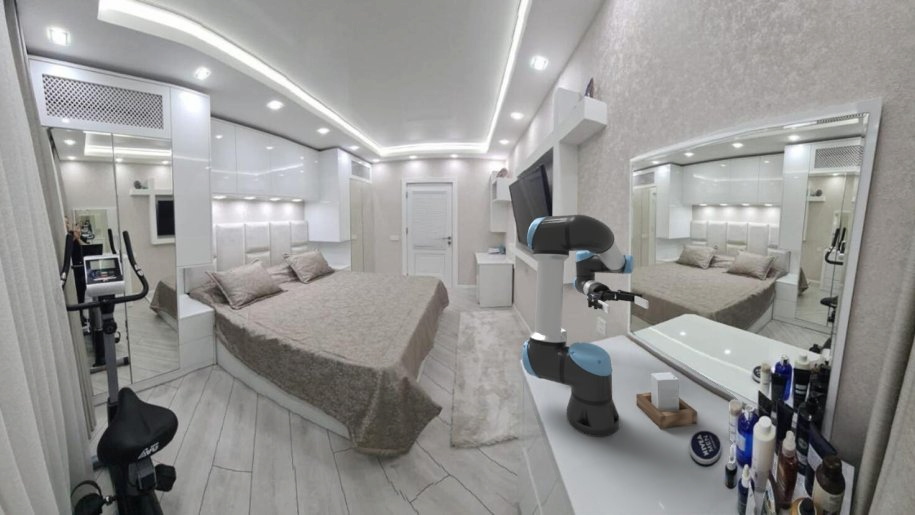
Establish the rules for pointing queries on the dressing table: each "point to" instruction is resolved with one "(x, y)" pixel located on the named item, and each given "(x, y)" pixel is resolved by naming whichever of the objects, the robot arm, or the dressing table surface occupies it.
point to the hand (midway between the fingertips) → (628, 307)
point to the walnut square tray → (667, 413)
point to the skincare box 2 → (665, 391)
